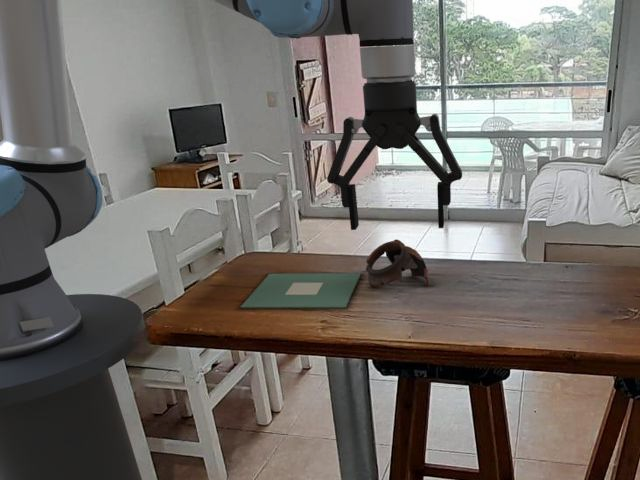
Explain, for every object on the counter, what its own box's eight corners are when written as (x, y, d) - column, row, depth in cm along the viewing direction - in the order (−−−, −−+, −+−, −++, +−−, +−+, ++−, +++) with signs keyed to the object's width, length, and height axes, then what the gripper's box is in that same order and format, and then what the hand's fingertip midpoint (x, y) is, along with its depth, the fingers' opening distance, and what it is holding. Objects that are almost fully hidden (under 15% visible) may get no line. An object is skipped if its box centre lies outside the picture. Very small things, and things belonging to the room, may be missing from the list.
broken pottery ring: (439, 295, 90) (415, 258, 84) (386, 321, 91) (359, 286, 86) (427, 253, 99) (405, 217, 94) (379, 277, 101) (355, 243, 95)
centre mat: (240, 308, 86) (240, 306, 86) (269, 275, 99) (269, 273, 99) (345, 308, 85) (345, 306, 85) (361, 274, 98) (360, 272, 97)
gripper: (477, 75, 83) (477, 218, 92) (308, 82, 85) (324, 221, 94) (478, 77, 76) (478, 232, 85) (295, 85, 78) (313, 235, 87)
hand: (397, 226), depth 89 cm, fingers open, 13 cm apart
